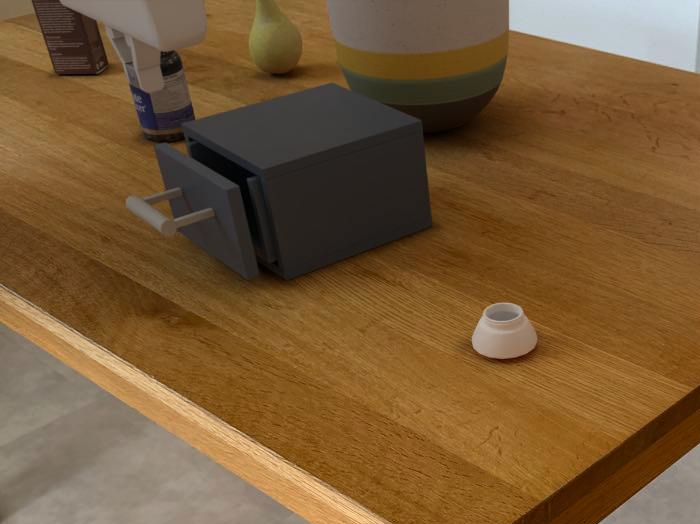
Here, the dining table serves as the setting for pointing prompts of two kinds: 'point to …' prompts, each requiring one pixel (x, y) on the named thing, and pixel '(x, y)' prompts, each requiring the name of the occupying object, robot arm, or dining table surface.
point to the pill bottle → (165, 102)
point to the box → (70, 39)
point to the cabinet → (326, 172)
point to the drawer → (211, 206)
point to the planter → (423, 54)
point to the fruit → (274, 39)
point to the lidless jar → (504, 332)
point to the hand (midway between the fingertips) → (147, 87)
